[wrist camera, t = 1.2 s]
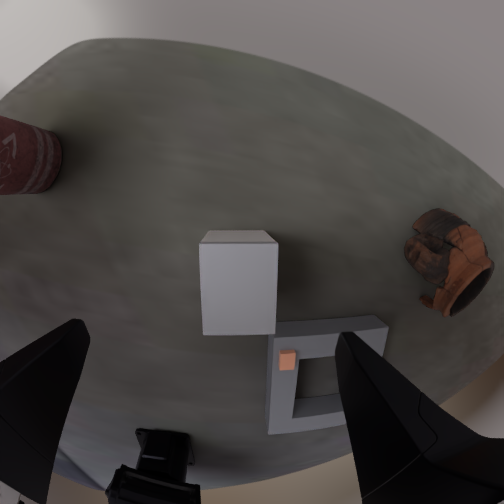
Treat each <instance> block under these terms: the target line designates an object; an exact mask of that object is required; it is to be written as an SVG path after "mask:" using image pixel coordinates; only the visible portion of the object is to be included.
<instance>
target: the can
mask: <svg viewBox="0 0 504 504" xmlns="http://www.w3.org/2000/svg"><path fill="white" fill-rule="evenodd" d="M61 161H62V150H61V146H60V143H59V140H58V138H57V137H56V136H55V134H54V133H52V132H50V131H47V130H44V129H41V128H38V127H35V126H32V125H29V124H26V123H22V122H19V121H16V120H13V119H9V118H6V117H3V116H0V195H9V194H38V193H40V192H43V191H45V190H46V189H47V188H48V187H49V186H50V185H51V184H52V182H53V181H54V179H55V178H56V177H57V174H58V172H59V169H60V166H61Z"/></svg>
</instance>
